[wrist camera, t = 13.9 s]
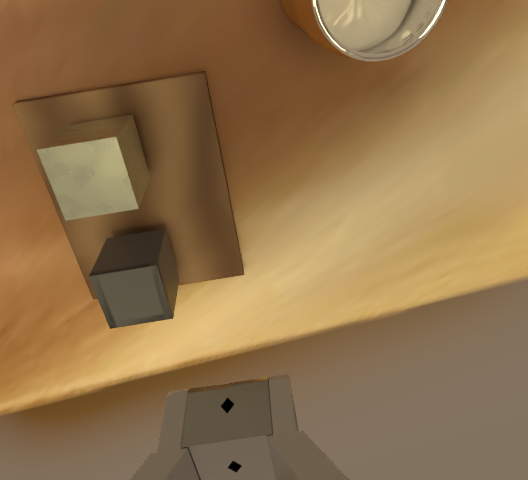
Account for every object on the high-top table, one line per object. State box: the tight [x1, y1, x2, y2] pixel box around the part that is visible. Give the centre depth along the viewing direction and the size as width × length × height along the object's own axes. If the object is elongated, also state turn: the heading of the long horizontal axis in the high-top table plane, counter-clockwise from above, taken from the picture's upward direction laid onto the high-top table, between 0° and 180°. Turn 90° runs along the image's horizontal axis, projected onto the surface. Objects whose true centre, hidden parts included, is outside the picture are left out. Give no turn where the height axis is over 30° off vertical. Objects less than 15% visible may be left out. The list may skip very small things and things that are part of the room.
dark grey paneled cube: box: [89, 229, 179, 329], centre depth 37 cm, size 5×5×6 cm
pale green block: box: [37, 114, 151, 221], centre depth 33 cm, size 5×5×8 cm
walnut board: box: [12, 71, 244, 299], centre depth 39 cm, size 15×19×1 cm
